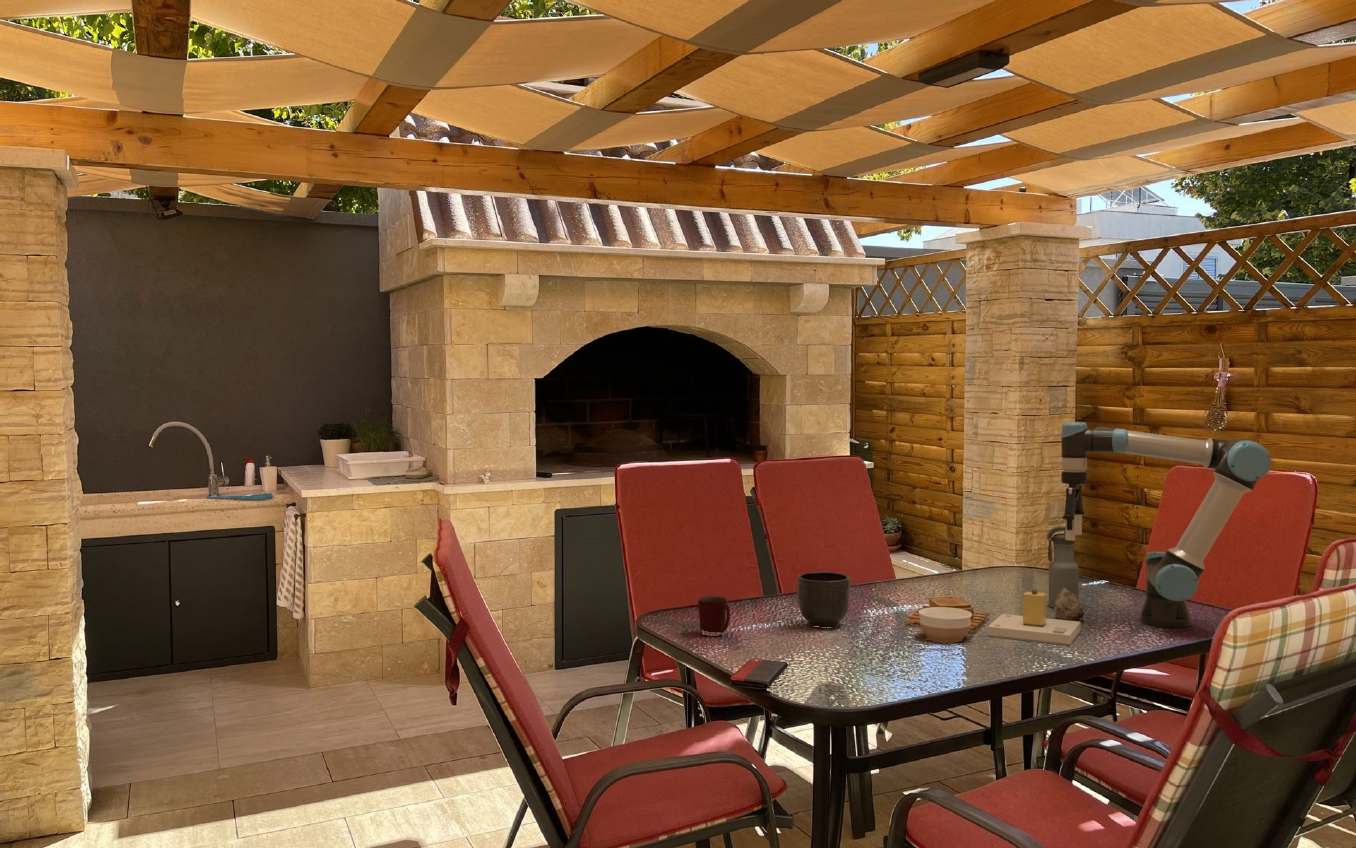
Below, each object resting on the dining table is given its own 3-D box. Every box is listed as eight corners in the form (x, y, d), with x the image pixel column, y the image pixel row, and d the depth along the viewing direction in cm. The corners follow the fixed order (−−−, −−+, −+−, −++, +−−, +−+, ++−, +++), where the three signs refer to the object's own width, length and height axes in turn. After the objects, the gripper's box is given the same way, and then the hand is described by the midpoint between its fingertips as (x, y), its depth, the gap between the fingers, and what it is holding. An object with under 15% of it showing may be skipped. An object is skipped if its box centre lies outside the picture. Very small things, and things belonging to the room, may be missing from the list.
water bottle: (1049, 609, 352) (1049, 528, 351) (1045, 603, 362) (1046, 524, 361) (1080, 610, 350) (1080, 529, 349) (1076, 604, 359) (1076, 525, 358)
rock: (1057, 630, 334) (1076, 610, 329) (1036, 603, 341) (1054, 583, 336) (1074, 630, 339) (1093, 610, 334) (1053, 603, 346) (1071, 583, 341)
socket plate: (1080, 631, 321) (1080, 619, 321) (1069, 645, 303) (1069, 633, 303) (1002, 623, 333) (1002, 611, 333) (987, 636, 316) (987, 624, 315)
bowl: (908, 634, 319) (908, 609, 318) (951, 630, 324) (951, 605, 324) (938, 646, 304) (938, 620, 304) (983, 641, 309) (983, 615, 309)
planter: (809, 617, 344) (809, 570, 343) (858, 623, 335) (858, 574, 334) (788, 627, 329) (788, 578, 328) (838, 634, 320) (838, 583, 320)
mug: (739, 636, 319) (739, 601, 318) (718, 640, 313) (718, 605, 313) (713, 629, 328) (713, 595, 328) (692, 633, 322) (692, 599, 322)
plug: (1046, 631, 319) (1046, 589, 318) (1042, 635, 315) (1043, 592, 314) (1026, 629, 322) (1026, 587, 321) (1022, 632, 318) (1022, 590, 317)
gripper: (1068, 467, 337) (1068, 531, 338) (1054, 473, 316) (1054, 541, 317) (1092, 468, 334) (1092, 533, 334) (1080, 474, 312) (1079, 543, 313)
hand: (1073, 537), depth 326 cm, fingers open, 13 cm apart
